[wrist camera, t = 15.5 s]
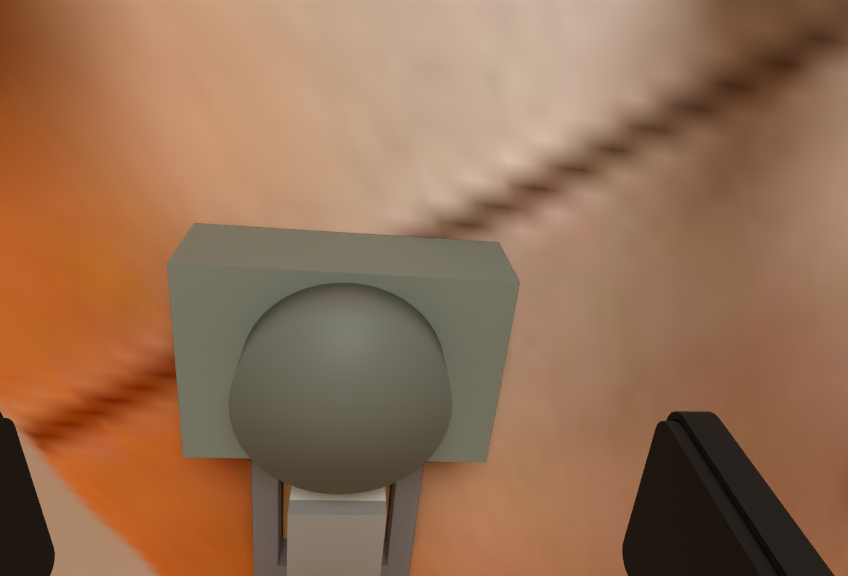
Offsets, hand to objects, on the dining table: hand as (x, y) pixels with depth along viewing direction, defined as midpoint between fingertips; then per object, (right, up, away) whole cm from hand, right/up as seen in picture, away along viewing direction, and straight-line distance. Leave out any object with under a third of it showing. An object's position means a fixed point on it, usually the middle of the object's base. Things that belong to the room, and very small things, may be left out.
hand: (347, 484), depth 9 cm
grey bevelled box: (-4, -9, +30) cm, 32 cm away
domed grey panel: (-4, -5, +29) cm, 29 cm away
